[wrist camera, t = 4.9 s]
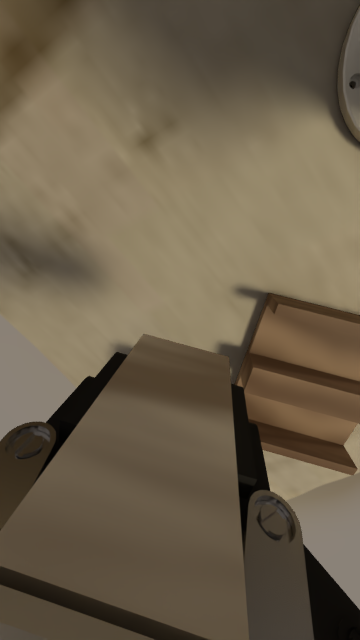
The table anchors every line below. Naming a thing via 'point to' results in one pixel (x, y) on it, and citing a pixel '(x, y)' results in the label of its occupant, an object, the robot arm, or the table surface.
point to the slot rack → (304, 381)
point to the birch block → (142, 504)
